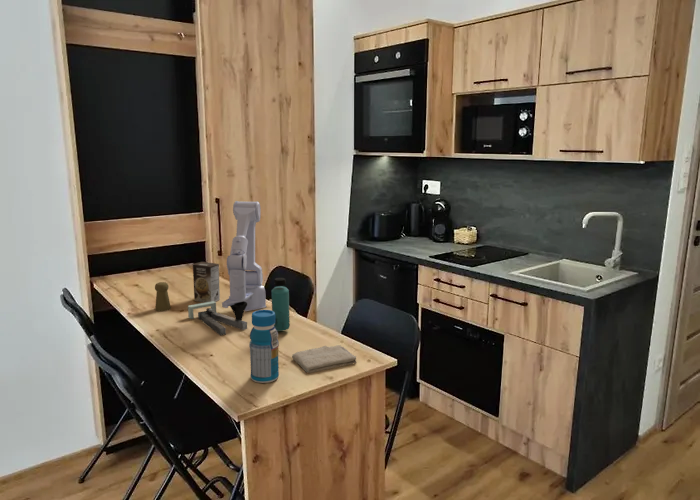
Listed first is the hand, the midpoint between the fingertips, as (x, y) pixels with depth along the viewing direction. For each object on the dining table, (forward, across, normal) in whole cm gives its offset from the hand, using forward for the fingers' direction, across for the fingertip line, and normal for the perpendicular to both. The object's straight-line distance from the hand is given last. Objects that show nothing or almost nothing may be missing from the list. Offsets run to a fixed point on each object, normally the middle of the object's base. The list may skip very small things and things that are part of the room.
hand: (238, 321), depth 199 cm
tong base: (+1, +5, -7) cm, 9 cm away
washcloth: (+2, +9, +45) cm, 46 cm away
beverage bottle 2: (+2, -3, +17) cm, 18 cm away
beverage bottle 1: (+2, +28, +37) cm, 47 cm away
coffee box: (+2, -14, -32) cm, 35 cm away
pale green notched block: (+1, +1, -19) cm, 19 cm away
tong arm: (+1, +1, -6) cm, 6 cm away
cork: (+2, +4, -38) cm, 38 cm away
